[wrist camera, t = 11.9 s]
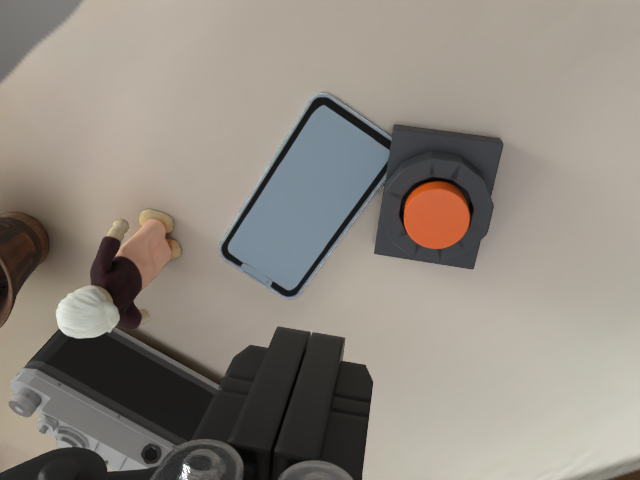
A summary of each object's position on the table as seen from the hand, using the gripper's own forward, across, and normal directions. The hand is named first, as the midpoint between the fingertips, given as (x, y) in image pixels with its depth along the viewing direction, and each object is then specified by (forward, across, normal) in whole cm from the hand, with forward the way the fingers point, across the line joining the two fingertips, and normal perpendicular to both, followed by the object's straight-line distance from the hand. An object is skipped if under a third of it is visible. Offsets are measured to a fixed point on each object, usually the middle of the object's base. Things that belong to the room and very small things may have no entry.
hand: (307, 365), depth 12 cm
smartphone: (+28, +5, +7) cm, 29 cm away
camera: (+27, +18, +26) cm, 41 cm away
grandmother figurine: (+28, +16, +12) cm, 34 cm away
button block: (+27, -4, +5) cm, 28 cm away
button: (+24, -4, +5) cm, 25 cm away
